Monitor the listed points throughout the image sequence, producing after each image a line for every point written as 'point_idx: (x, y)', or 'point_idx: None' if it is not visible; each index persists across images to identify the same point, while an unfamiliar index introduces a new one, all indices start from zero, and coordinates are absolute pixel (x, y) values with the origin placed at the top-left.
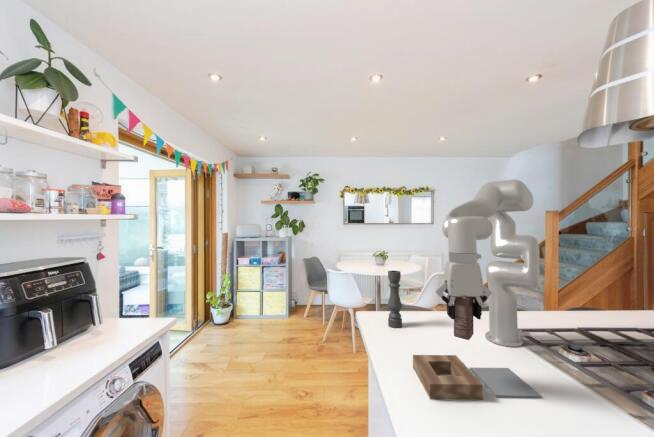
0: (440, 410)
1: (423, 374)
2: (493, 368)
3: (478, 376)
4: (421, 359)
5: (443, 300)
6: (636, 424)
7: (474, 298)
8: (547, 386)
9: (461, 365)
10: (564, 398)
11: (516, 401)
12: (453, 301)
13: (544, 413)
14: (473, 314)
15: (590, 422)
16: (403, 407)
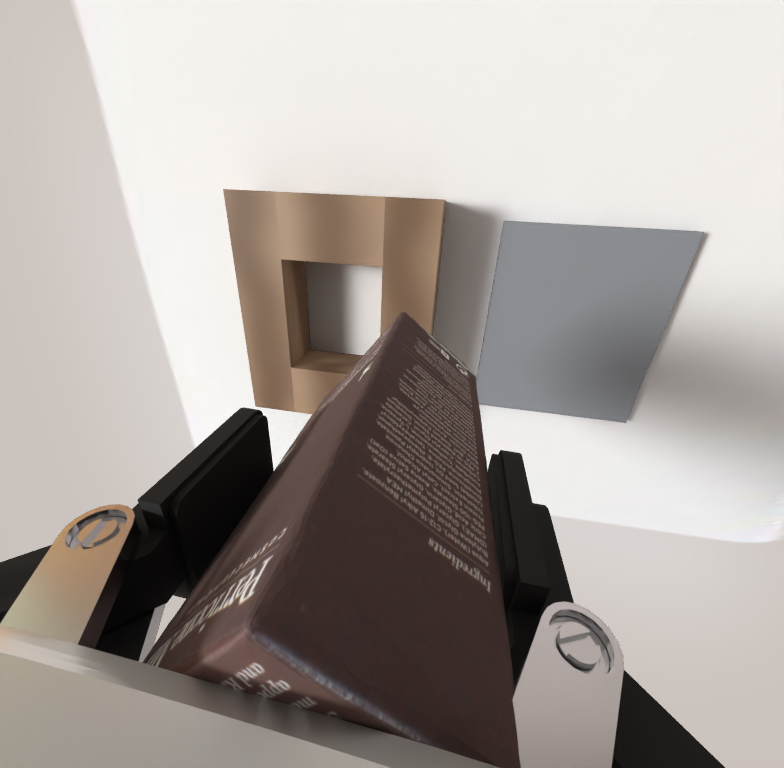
0: (292, 425)
1: (249, 347)
2: (617, 235)
3: (491, 298)
4: (257, 239)
5: (31, 557)
6: (767, 528)
7: (527, 712)
8: (731, 366)
9: (415, 306)
10: (704, 427)
11: (522, 420)
12: (144, 654)
13: (556, 467)
14: (491, 467)
15: (645, 506)
16: (208, 405)
